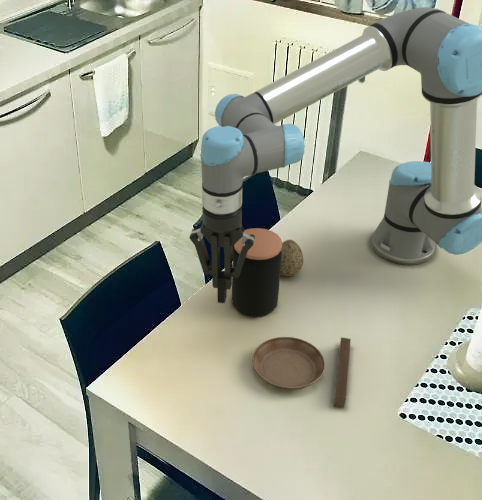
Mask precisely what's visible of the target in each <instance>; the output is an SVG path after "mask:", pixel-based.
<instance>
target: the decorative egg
mask: <svg viewBox="0 0 482 500" xmlns="http://www.w3.org/2000/svg"><path fill="white" fill-rule="evenodd" d="M282 243H283V244H282V249H281V251H282V258H281V270H280V275H282V276H285V277H293V276H295V275H297V274H298V273H299V272H300V271H301V269H302V268H303V265H304V259H305V258H304V253H303V251H302V248H301V247H300V245H299V244H298V242H296V241H295V240H293V239H287V240H284V241H282Z"/></svg>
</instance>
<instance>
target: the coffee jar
mask: <svg viewBox="0 0 482 500" xmlns="http://www.w3.org/2000/svg"><path fill="white" fill-rule="evenodd" d="M244 232H245V233H246V234H248V235H251V234H253V235H254V236H255V240H254V244H253V246H252V247H251V248H250V249H249V250H248V252H247V255H246V258H245V261H244V263H243V266H242V269H241V272H240V275H239V277H238V278H235V277H232V285H231V304H232V306H233V307H234V309H235V310H236V311H237V312H239V313H240V314H241V315H243V316H246V317H249V318H262V317H266V316H268V315H269V314H271V313H272V312H274V310H275V309H276V308H277V306H278V303H279V292H280V281H281V274H280V270H281V258H282V251H281V249H282V244H283V240H282V238H281V236H280V235H279V234H278V233H276V232H274V231H272V230H270V229H267V228H259V227H255V228H253V227H252V228H247V229H244ZM241 242H242V239H240V240H239V241H237V242H236V243H235V244H234V245H233V254H232V268H235V267H236V264H237V261H238V258H239V255H240V252H241V249H242V246H243V245H242V243H241Z"/></svg>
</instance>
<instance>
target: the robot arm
mask: <svg viewBox="0 0 482 500" xmlns="http://www.w3.org/2000/svg"><path fill="white" fill-rule="evenodd" d="M398 66H407V67H409V68H411V69H413V70H414V71H416V72H418V73H419V74H420V80H421V81H420V84H421V94H422V97H423V99H425V100H426V101H427V102H429V115H430V116H429V118H430V119H429V120H430V123H429V125H430V127H429V128H430V162H429V161H421V160H420V161H419V160H416V161H415V160H413V161H405V162H403V163H400V164H398V165H397V166H395V167H394V168H393V170H392V173H391V176H390V179H389V181H388V183H389V184H388V190H387V195H386V202H385V208H384V213H383V217H382V219H381V221H380V222H379V224H378V225H377V226H376V229H375V230H374V232H373V233H372V236H371V237H372V238H371V247H372V249H373V251H374V252H375V253H376V254H377V255H378V256H380V257H381V258H382V259H385V260H386V261H389V262H391V263H394V264H399V265H409V266H411V265H420V264H424V263H426V262H428V261H430V260H431V259H432V258H433V257H434V256H435V251H436V248H437V246H438V248H440V249H442V250H443V251H445V252H447V253H448V254H449V255H454V256H456V255H463V254H467V253H468V252H470V251H472V250H474V249H475V248H477V247H478V246H479V245H480V244H481V243H482V192H481V190H480V188H479V187H478V186H477V185H476V184H475V177H476V176H475V175H476V174H475V172H476V146H477V145H476V144H477V143H476V142H477V111H478V99H479V98H481V97H482V27H481V26H479V25H476V24H473V23H469V22H466V21H465V20H463V19H461V18H458V17H456V16H454V15H452V14H449V13H447V12H445V11H444V10H441V9H439V8H435V7H426V6H424V7H416V8H411V9H407V10H404V11H400V12H397V13H394V14H392V15H389V16H387V17H383V18H382V19H380V20H378V21H376V22H374V23H372V24H370V25H368V26H366V27H365V28H364V29H363V30H362V34H361V35H359V36H358V37H356V38H354V39H352V40H351V41H349V42H346V43H344V44H343V45H341V46H339V47H337V48H335V49H334V50H332V51H330V52H328V53H326V54H323V55H322V56H320V57H318V58H316V59H315V60H312V61H310V62H309V63H307V64H305V65H303V66H301V67H299V68H297V69H296V70H293V71H292V72H290V73H288V74H286V75H284V76H282V77H281V78H279V79H277V80H274V81H273V82H271V83H269V84H267V85H265V86H264V87H262V88H260V89H258V90H255V91H254V92H252V93H250V94H248V95H246V96H243V95H241V94H238V93H232V94H227V95H225V96H224V97H222V98H221V99H220V100H219V101H218V103H217V104H216V107H215V110H214V119H215V121H216V124H217V125H216V126H213V127H210V128H209V129H207V130H206V131H205V132H203V135H202V138H201V143H200V163H201V202H202V210H201V211H202V223H201V225H200V228H198V229H197V228H192V230H191V231H190V235H189V240H190V241H191V242H192V244H193V245H194V248H195V251H196V254H197V257H198V260H199V263H200V266H201V270H202V273H203V274H204V275H210V276H212V277H211V278H212V279H211V280H212V281H211V282H212V285H211V286H212V288H213V289H216V290H217V294H216V295H217V298H216V299H217V302H216V303H217V304H225V303H226V299H227V296H228V291H230V290H231V289H232V277H235V278H238V277H239V275H240V272H241V269H242V266H243V263H244V261H245V258H246V255H247V252H248V250H249V249H250V248H251V247H252V246H253V244H254V240H255V236H254V235H253V234H251V235H248V234H246V233H245V232H244V230H245V228H244V227H243V225H242V223H243V221H242V219H243V206H242V205H243V183H244V182H243V181H244V178H245V177H247V176H252V175H255V174H259V173H264V172H268V171H273V170H277V169H283V168H285V167H287V166H290V165H293V164H297V163H299V162H300V161H301V160H302V159H303V158H304V155H305V148H306V145H305V143H306V142H305V138H304V135H303V132H302V131H301V129H300V127H298V125H296V124H293V123H286V124H280V125H276V124H277V123H279V122H281V121H284V120H285V119H287V118H289V117H291V116H293V115H294V114H296V113H299V112H300V111H302V110H304V109H306V108H308V107H310V106H311V105H313V104H315V103H317V102H319V101H321V100H323V99H325V98H327V97H329V96H331V95H333V94H334V93H336V92H338V91H340V90H342V89H344V88H346V87H347V86H350V85H351V84H353V83H355V82H358V81H359V80H361V79H363V78H364V77H366V76H368V75H370V74H372V73H374V72H376V71H378V70H379V71H382V72H386V71H387V72H388V71H389V70H391V69H392V68H395V67H398ZM204 238H205V239H206V241H207V242H208V243H209V244H210V251H211V260H210V256H209V253H208V250H207V247H206V243H205V240H204ZM240 239H242V242H241V243H242V245H243V246H242V249H241V252H240V255H239V258H238V261H237V264H236V267H235V268H233V250H234V244H235V243H236V242H237V241H239V240H240ZM221 248H223V253H224V254H223V255H224V256H223V258H224V260H223V261H224V263H223V264H224V270H220V269H221Z"/></svg>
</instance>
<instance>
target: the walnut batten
mask: <svg viewBox="0 0 482 500" xmlns="http://www.w3.org/2000/svg"><path fill="white" fill-rule="evenodd" d="M351 340H352V339H351V338H347V337H342V336H341V337H340V342H339V348H338V359H337V367H336V368H337V369H336V379H335V388H334V389H335V390H334V399H333V407H334V408H340V409H345V405H346V398H347V388H348V387H347V386H348V375H349V363H350V351H351Z"/></svg>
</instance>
